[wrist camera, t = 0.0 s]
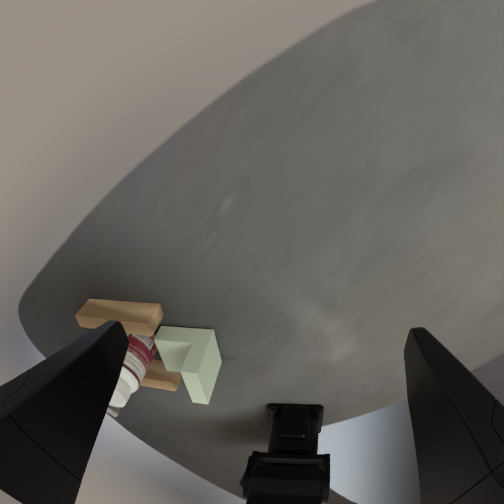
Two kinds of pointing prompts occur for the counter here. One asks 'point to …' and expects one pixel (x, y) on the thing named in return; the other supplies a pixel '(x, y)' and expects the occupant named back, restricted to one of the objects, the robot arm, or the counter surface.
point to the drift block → (191, 358)
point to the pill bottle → (134, 367)
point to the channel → (132, 331)
